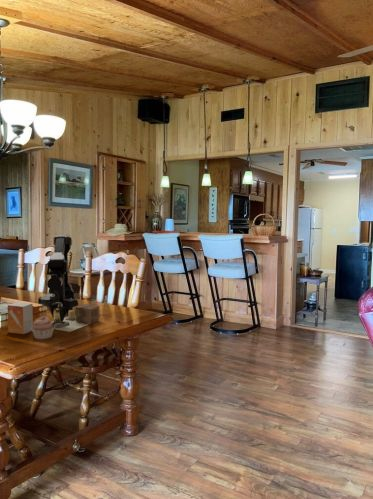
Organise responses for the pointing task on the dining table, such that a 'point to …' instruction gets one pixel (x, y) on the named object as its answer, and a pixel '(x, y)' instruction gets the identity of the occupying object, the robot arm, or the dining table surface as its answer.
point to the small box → (20, 317)
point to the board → (69, 323)
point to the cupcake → (43, 328)
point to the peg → (57, 315)
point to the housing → (87, 313)
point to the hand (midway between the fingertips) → (58, 320)
